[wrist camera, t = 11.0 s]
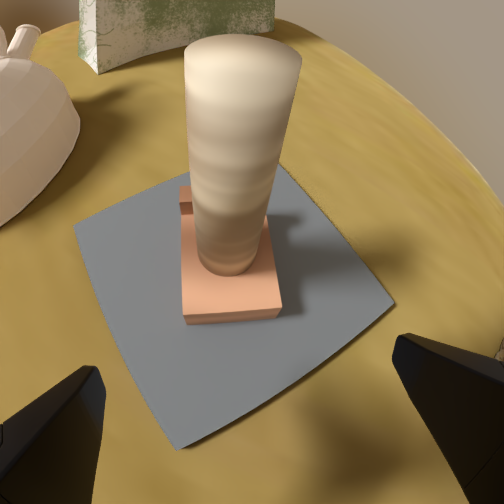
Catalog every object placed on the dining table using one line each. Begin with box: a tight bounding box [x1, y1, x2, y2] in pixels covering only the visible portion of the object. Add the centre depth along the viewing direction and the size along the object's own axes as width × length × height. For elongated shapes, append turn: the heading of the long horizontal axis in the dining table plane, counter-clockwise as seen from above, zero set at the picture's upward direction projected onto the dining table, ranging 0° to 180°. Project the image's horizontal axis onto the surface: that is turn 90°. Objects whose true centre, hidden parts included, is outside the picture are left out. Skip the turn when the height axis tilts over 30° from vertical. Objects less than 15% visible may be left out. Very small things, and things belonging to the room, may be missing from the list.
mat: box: [73, 164, 394, 451], centre depth 18 cm, size 16×16×1 cm
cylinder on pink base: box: [179, 34, 302, 325], centre depth 12 cm, size 7×5×13 cm
